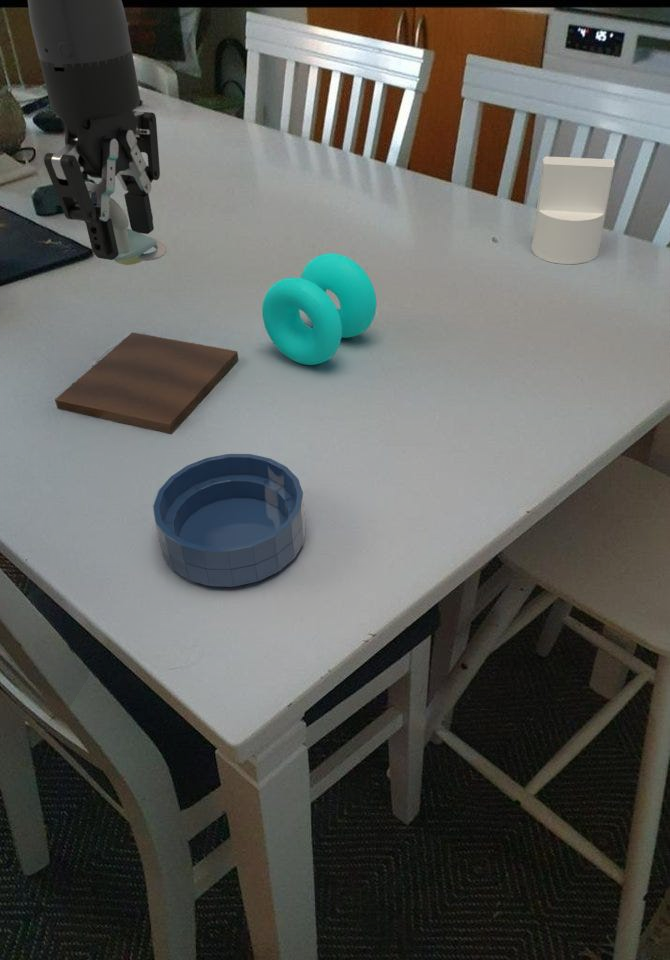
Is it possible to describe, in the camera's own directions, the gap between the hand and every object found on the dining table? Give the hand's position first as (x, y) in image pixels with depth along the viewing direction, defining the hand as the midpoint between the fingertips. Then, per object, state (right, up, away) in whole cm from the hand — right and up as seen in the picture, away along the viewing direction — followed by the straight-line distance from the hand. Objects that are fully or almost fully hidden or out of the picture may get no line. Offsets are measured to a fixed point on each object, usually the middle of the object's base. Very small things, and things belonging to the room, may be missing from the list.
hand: (125, 243), depth 77 cm
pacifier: (0, -1, +2) cm, 2 cm away
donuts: (+19, -7, +17) cm, 26 cm away
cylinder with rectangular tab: (+52, +9, +35) cm, 63 cm away
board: (0, -12, +12) cm, 17 cm away
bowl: (+11, -28, -8) cm, 31 cm away
